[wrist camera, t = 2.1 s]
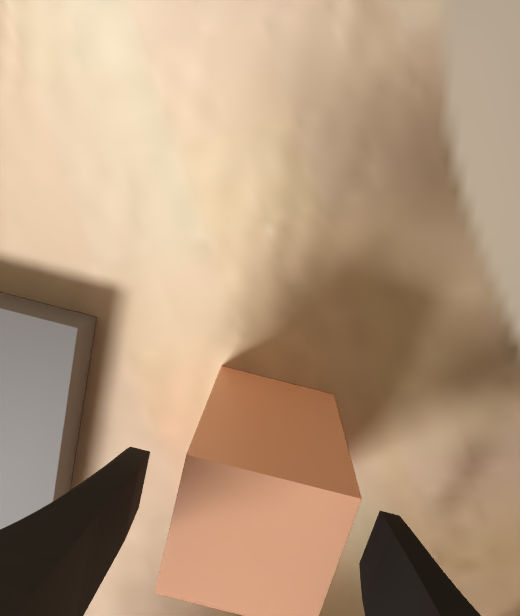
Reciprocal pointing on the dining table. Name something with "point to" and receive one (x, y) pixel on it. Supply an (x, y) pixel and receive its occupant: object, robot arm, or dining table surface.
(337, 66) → the dining table surface
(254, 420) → the terracotta block
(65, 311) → the shelf board
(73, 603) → the robot arm
